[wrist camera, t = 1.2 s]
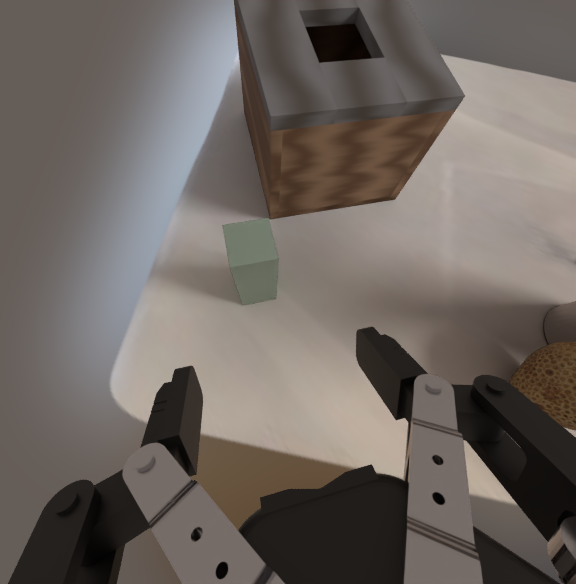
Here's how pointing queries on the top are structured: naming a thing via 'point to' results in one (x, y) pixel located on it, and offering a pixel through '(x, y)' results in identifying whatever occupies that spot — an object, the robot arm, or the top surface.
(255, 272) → the sage peg
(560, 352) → the natural sponge
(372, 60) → the box
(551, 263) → the top surface
